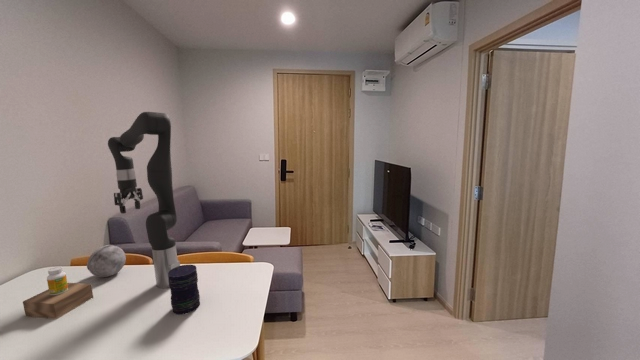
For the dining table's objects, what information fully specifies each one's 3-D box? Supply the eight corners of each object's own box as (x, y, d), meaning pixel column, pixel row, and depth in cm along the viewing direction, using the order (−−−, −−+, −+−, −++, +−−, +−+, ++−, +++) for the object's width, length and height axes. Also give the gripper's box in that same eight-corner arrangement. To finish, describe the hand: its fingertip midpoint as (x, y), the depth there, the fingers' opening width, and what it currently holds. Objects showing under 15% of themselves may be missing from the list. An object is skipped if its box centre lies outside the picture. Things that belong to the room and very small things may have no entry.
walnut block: (93, 297, 115) (91, 284, 114) (56, 318, 101) (54, 303, 101) (65, 295, 117) (62, 282, 117) (25, 316, 104) (22, 301, 103)
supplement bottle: (57, 296, 106) (52, 272, 104) (45, 295, 107) (41, 271, 105) (72, 288, 111) (68, 266, 109) (61, 287, 112) (57, 265, 110)
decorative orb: (109, 267, 143) (105, 240, 141) (134, 268, 141) (131, 240, 139) (81, 282, 128) (76, 251, 126) (109, 283, 126) (104, 252, 124)
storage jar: (206, 301, 109) (202, 266, 107) (186, 317, 100) (182, 278, 98) (186, 298, 112) (182, 263, 110) (165, 312, 103) (161, 274, 101)
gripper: (120, 180, 127) (125, 215, 129) (144, 176, 141) (148, 207, 143) (106, 180, 128) (111, 214, 130) (131, 176, 142) (135, 207, 144)
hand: (130, 211), depth 137 cm, fingers open, 8 cm apart
